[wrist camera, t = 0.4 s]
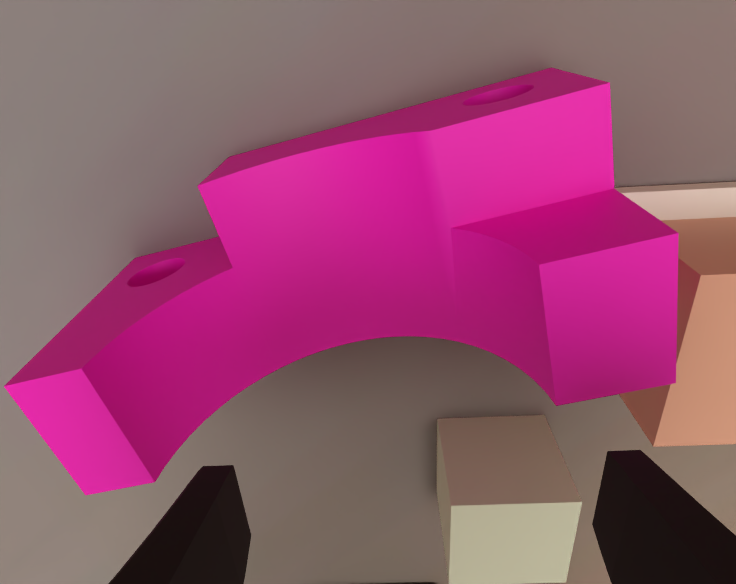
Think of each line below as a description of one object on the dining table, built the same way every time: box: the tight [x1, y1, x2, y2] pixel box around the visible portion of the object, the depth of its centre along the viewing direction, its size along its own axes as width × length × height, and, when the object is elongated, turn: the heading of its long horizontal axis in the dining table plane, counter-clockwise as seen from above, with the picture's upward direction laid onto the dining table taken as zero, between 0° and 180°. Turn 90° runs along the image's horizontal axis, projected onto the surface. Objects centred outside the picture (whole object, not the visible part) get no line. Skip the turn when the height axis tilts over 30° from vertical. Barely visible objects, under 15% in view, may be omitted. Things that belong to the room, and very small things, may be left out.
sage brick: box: [437, 415, 582, 584], centre depth 21 cm, size 4×4×4 cm
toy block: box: [4, 68, 679, 495], centre depth 14 cm, size 15×6×8 cm, turn 105°
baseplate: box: [614, 182, 736, 220], centre depth 18 cm, size 8×8×1 cm
